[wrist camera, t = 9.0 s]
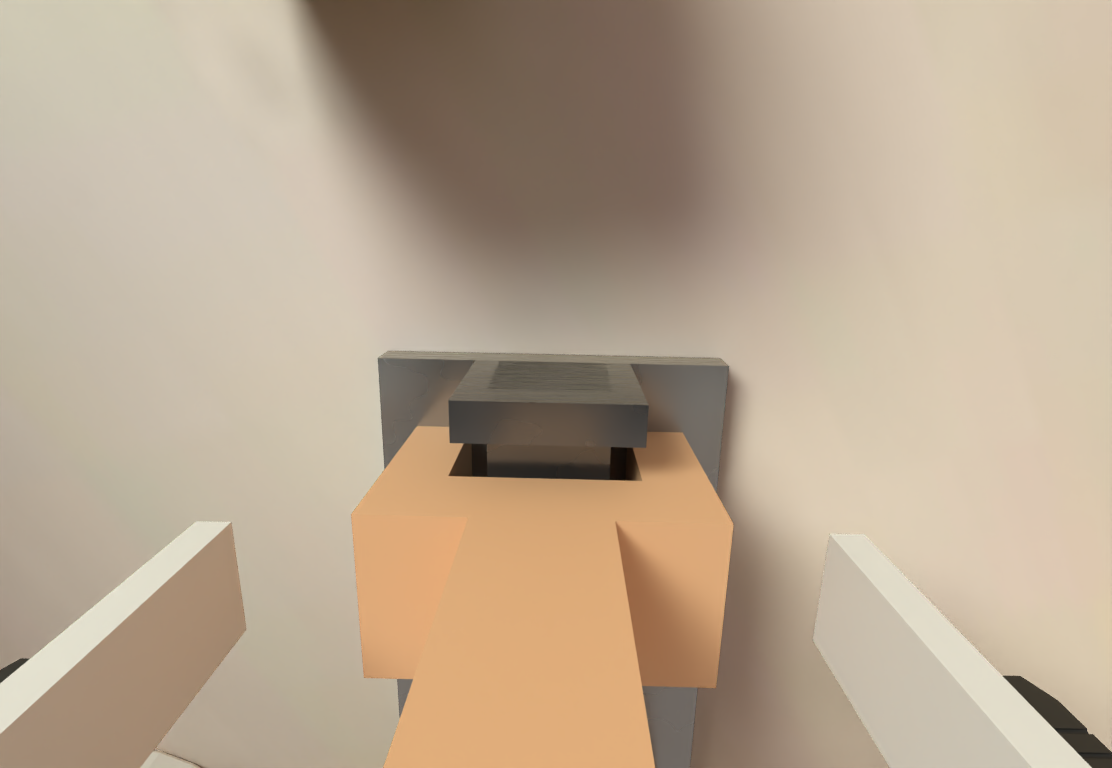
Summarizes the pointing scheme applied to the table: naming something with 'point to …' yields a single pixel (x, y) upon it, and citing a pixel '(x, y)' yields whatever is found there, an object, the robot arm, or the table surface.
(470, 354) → the rail base
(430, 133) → the table surface
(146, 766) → the mug
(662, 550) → the tan wooden arch block
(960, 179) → the table surface
